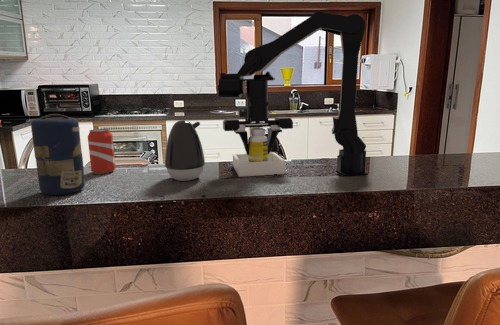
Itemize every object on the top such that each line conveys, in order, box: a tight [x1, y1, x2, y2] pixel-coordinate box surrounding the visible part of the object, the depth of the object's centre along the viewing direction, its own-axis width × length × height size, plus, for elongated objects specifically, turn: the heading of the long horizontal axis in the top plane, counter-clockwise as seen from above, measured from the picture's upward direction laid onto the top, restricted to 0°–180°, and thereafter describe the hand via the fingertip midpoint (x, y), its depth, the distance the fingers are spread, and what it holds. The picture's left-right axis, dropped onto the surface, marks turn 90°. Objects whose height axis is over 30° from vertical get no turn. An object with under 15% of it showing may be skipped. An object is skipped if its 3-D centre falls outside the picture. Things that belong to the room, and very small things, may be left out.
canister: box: [30, 113, 86, 196], centre depth 82 cm, size 10×10×18 cm
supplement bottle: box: [248, 127, 268, 162], centre depth 101 cm, size 5×5×10 cm
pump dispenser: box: [164, 119, 206, 182], centre depth 93 cm, size 10×10×15 cm
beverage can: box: [87, 128, 116, 175], centre depth 101 cm, size 6×6×12 cm
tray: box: [232, 151, 286, 177], centre depth 102 cm, size 13×13×4 cm
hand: (258, 154), depth 101 cm, fingers closed on supplement bottle, 5 cm apart
